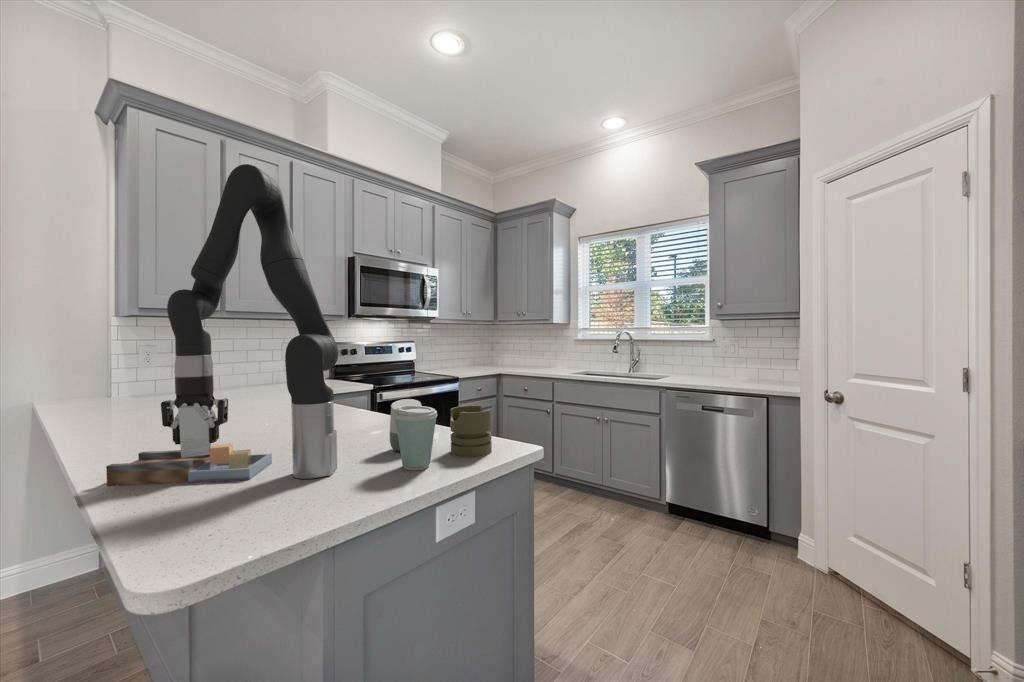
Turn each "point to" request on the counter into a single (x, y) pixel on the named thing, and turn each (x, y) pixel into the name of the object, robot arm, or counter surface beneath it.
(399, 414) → the disposable coffee cup
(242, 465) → the olive yellow cube
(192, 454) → the skincare box
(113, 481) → the slotted board
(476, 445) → the piston
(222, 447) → the orange cube
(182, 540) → the counter surface
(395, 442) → the smart speaker
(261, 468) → the tray
